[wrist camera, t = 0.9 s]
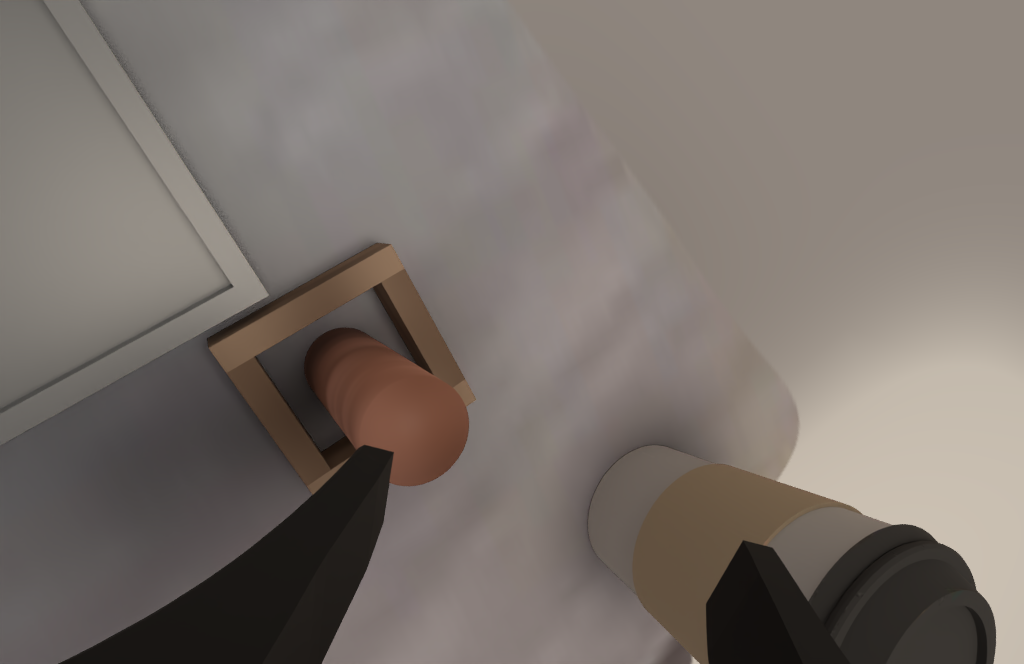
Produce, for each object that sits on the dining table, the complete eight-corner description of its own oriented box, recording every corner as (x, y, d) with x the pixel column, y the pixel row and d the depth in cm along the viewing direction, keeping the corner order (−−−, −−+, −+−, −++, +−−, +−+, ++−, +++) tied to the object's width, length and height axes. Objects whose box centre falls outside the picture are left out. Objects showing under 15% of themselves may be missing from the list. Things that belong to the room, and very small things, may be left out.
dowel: (330, 417, 25) (395, 508, 17) (288, 354, 24) (337, 419, 16) (395, 375, 26) (486, 442, 18) (357, 313, 25) (437, 354, 17)
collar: (312, 487, 25) (321, 507, 23) (207, 338, 22) (208, 348, 21) (457, 388, 27) (476, 399, 25) (376, 242, 25) (391, 244, 23)
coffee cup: (547, 476, 30) (831, 676, 17) (689, 393, 33) (1021, 505, 20) (596, 623, 33) (874, 895, 19) (723, 533, 36) (1035, 714, 23)
